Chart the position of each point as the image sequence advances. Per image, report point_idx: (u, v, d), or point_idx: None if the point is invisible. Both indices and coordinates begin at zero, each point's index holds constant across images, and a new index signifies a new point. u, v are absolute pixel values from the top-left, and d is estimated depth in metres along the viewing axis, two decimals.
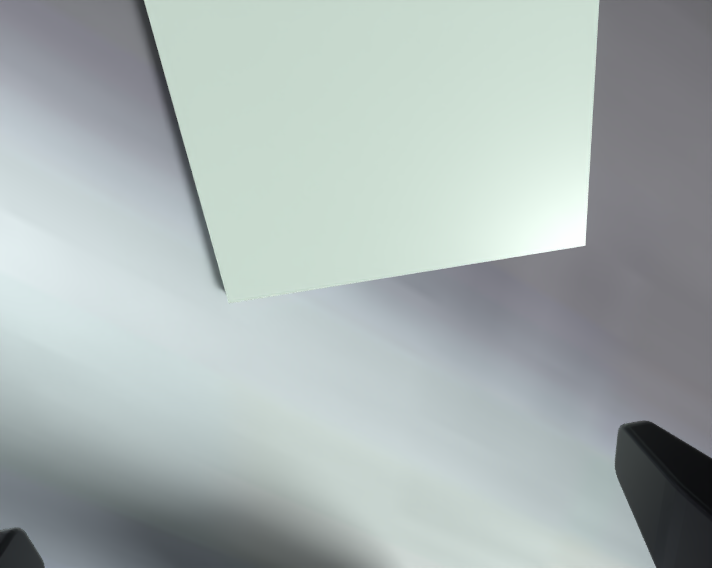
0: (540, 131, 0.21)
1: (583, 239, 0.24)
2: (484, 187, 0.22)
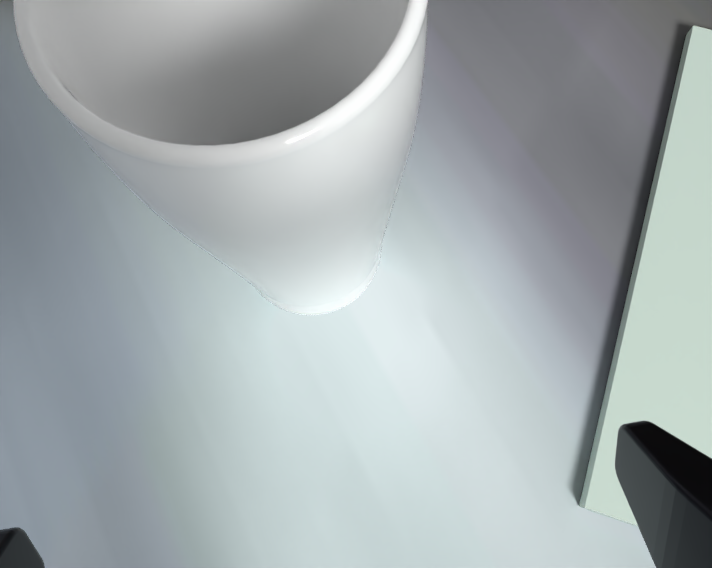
0: None
1: None
2: None
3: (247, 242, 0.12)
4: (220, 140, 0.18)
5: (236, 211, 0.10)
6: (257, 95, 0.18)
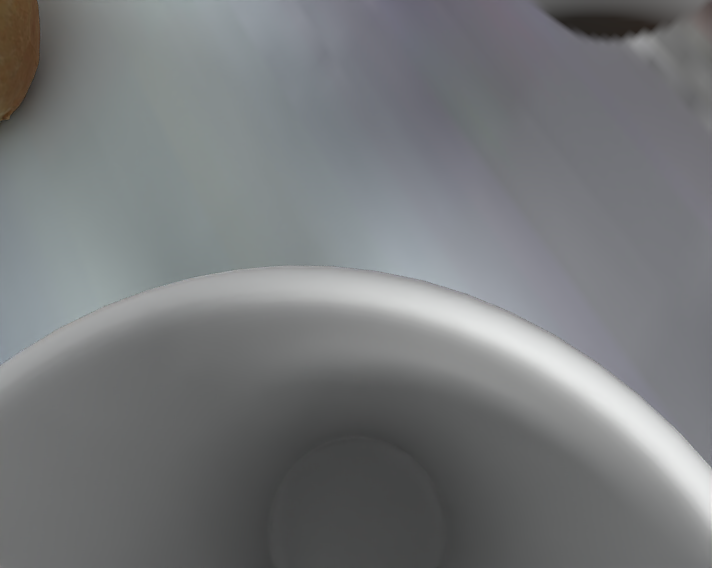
0: None
1: None
2: None
3: None
4: (239, 472, 0.12)
5: None
6: (297, 418, 0.12)
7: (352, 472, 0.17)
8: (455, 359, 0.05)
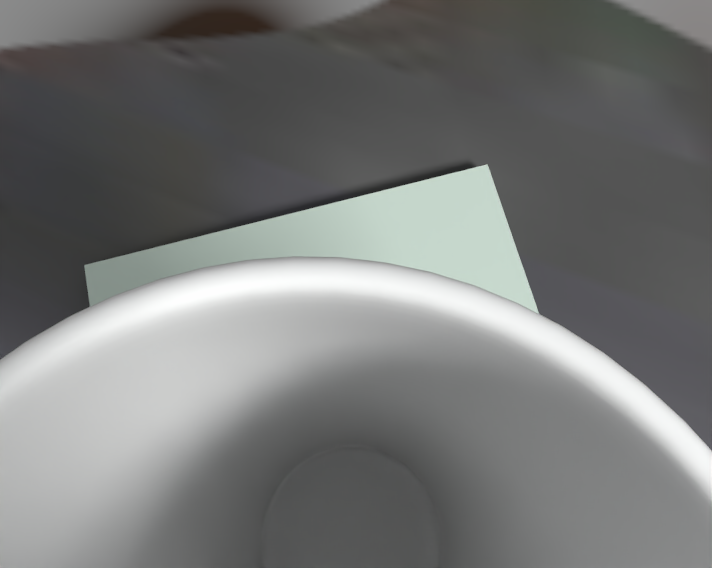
0: None
1: None
2: None
3: None
4: (235, 479, 0.12)
5: None
6: (294, 425, 0.11)
7: (346, 482, 0.16)
8: (459, 355, 0.05)
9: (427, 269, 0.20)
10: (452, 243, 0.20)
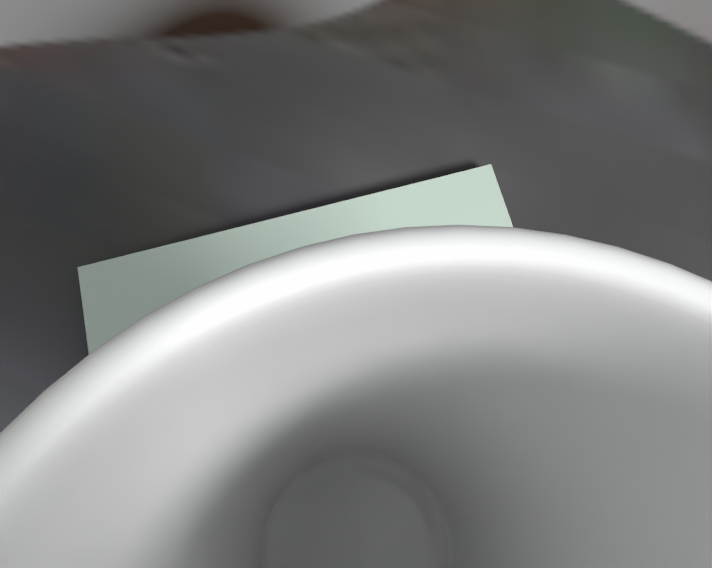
0: None
1: None
2: None
3: None
4: (251, 488, 0.11)
5: None
6: (319, 430, 0.11)
7: (351, 491, 0.16)
8: (597, 347, 0.05)
9: None
10: None
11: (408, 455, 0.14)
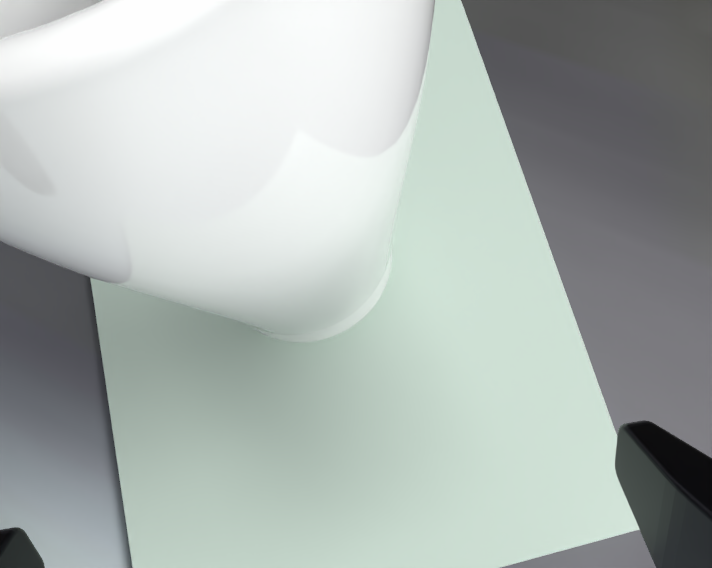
0: (528, 373, 0.18)
1: None
2: (479, 450, 0.17)
3: (126, 271, 0.07)
4: None
5: (53, 219, 0.05)
6: None
7: None
8: None
9: None
10: None
11: None
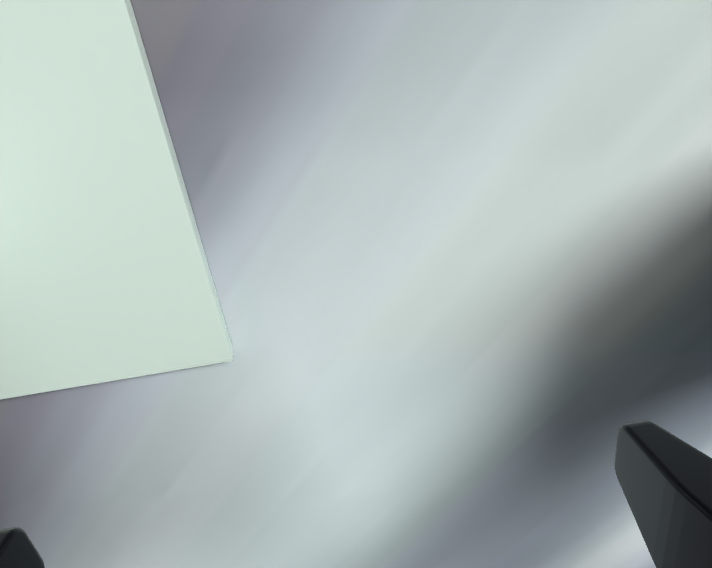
0: None
1: None
2: (47, 103, 0.18)
3: None
4: None
5: None
6: None
7: None
8: None
9: None
10: None
11: None
